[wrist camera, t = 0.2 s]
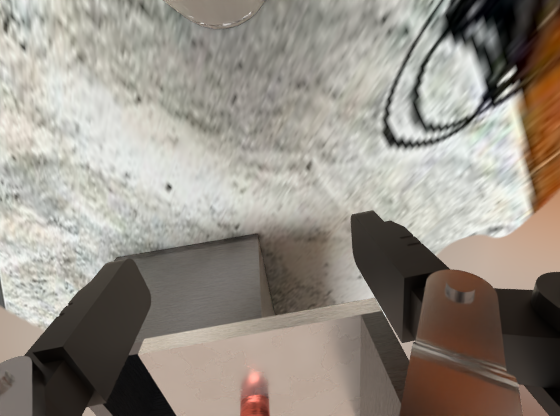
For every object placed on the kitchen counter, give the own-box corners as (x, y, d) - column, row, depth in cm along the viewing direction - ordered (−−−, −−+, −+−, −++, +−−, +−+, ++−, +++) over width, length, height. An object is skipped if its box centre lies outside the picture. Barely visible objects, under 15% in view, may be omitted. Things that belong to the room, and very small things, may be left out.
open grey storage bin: (116, 257, 30) (44, 359, 19) (257, 233, 30) (261, 320, 20) (165, 347, 37) (132, 454, 27) (277, 326, 38) (287, 425, 27)
